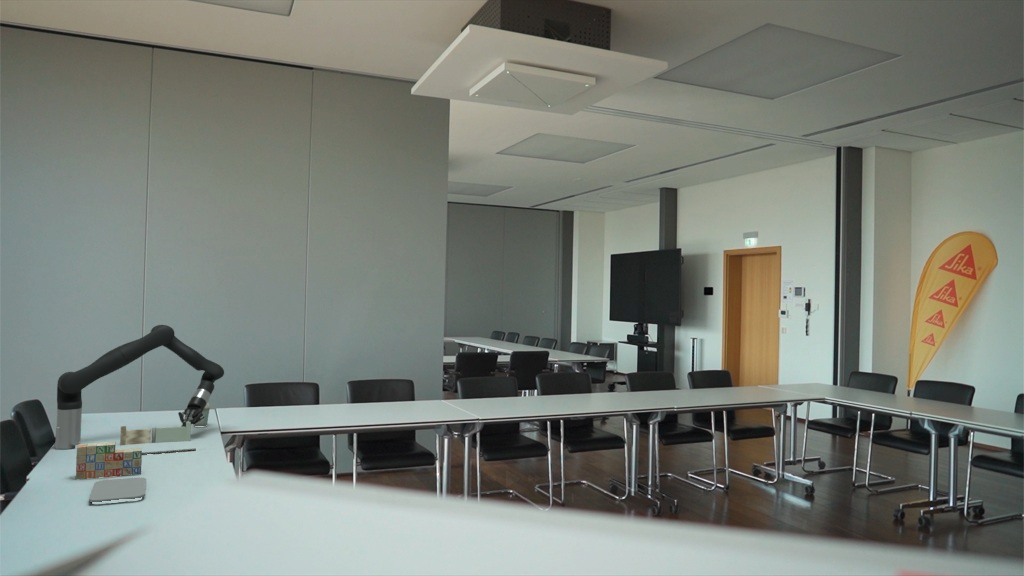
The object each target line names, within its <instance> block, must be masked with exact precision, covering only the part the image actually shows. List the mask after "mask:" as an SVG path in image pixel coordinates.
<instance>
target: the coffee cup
mask: <svg viewBox="0 0 1024 576" xmlns="http://www.w3.org/2000/svg"><path fill="white" fill-rule="evenodd" d="M210 409H211V404H210V402H207V404H206V406H205V408H204V410H203V411H202V414H203V415H204V418H203V419H202V420H200V421H199V422H197V423H196V424H194V427H195V426H206V425H207V426H208V421H209V414H210ZM195 421H196V420H195ZM207 426H206V427H207Z"/></svg>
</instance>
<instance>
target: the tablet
mask: <svg viewBox="0 0 1024 576" xmlns="http://www.w3.org/2000/svg"><path fill="white" fill-rule="evenodd" d="M146 487H147V478H146V477H140V476H139V477H129V478H127V477H126V478H125V477H124V478H116V479H114V478H113V479H104V480H98V481H95V482H94V483H93V486H92V489H91V492H90V494H89V497H88V501H89V502H102V501H111V500H119V499H135V498H141V497H145V496H146V490H147V489H146Z"/></svg>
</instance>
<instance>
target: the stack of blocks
mask: <svg viewBox="0 0 1024 576" xmlns="http://www.w3.org/2000/svg"><path fill="white" fill-rule="evenodd" d="M76 446H77V447H76V457H75V458H76V462H75V465H76V468H75V469H76V470H75V480H76V479H79V480H88V479H87V478H93V479H100V478H99V477H104V478H110V477H109V476H117V477H121V476H120V475H128V476H132V475H131V474H140V475H141V474H142V463H143V460H142V459H143V455H142V453H143V447H134V448H133V447H129V448H116V441H107V442H105V441H103V442H93V443H92V442H91V443H80V444H79V445H76ZM129 474H130V475H129Z"/></svg>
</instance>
